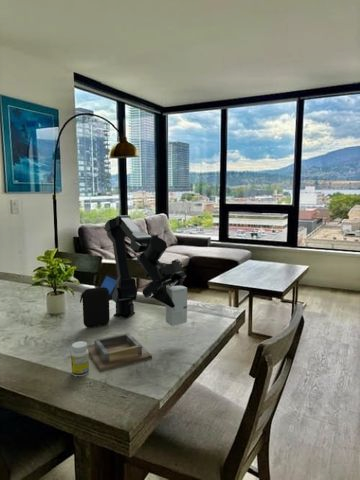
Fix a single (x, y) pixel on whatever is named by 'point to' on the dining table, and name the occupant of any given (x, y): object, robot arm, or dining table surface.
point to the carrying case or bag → (95, 307)
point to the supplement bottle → (80, 359)
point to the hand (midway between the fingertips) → (180, 304)
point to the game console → (108, 284)
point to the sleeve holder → (117, 351)
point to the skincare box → (177, 305)
